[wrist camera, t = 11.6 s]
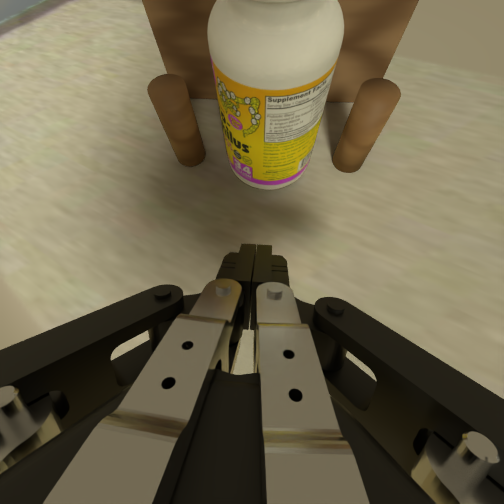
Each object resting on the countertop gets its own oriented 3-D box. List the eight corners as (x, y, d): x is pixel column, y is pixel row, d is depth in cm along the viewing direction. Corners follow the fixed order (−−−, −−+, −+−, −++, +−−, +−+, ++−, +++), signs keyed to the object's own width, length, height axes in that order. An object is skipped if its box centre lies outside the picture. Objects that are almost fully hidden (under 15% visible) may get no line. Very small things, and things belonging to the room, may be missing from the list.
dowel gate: (361, 149, 21) (398, 78, 15) (363, 173, 20) (403, 107, 15) (179, 143, 22) (151, 73, 16) (175, 165, 21) (143, 100, 15)
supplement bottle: (220, 138, 22) (171, -114, 10) (293, 121, 22) (332, -142, 10) (240, 203, 20) (208, -20, 8) (320, 182, 20) (412, -62, 8)
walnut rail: (370, 90, 23) (422, -31, 16) (371, 102, 23) (426, -17, 15) (178, 86, 24) (141, -30, 17) (175, 97, 24) (136, -17, 16)
